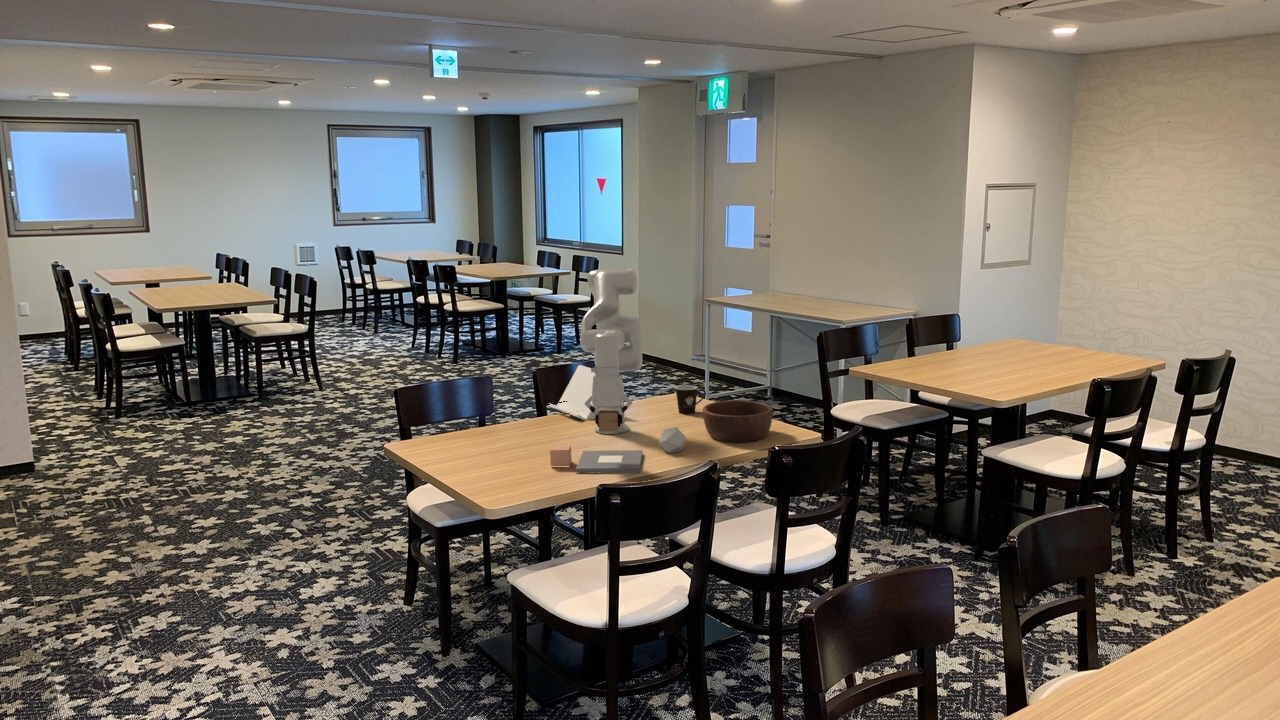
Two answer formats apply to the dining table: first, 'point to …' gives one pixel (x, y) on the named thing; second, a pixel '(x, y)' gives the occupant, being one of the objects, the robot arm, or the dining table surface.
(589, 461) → the baseboard
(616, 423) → the walnut block
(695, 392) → the coffee mug
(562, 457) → the terracotta block
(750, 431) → the wooden bowl
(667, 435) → the die
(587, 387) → the tablet stand
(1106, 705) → the dining table surface
